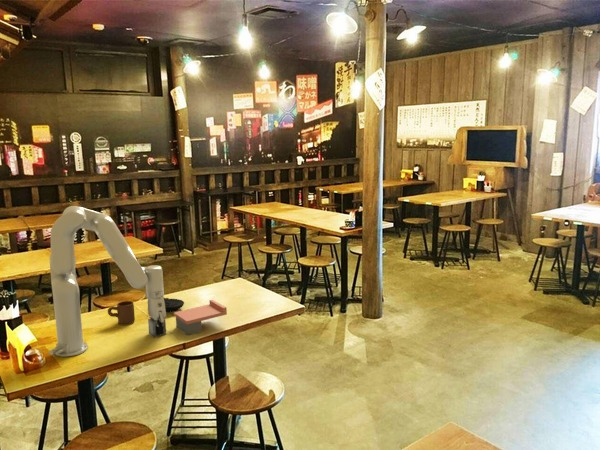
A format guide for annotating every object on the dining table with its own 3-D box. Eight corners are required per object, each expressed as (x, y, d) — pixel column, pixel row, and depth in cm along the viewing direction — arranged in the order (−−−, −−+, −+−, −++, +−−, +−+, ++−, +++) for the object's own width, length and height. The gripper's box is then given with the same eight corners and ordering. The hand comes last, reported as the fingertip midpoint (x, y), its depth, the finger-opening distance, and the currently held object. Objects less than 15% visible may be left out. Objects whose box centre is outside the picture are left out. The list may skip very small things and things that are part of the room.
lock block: (153, 337, 219) (152, 322, 218) (149, 333, 223) (148, 319, 222) (166, 333, 223) (165, 319, 222) (162, 330, 227) (161, 316, 226)
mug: (111, 328, 230) (109, 309, 228) (106, 323, 236) (105, 304, 234) (137, 322, 236) (135, 304, 235) (132, 318, 243) (130, 299, 241)
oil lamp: (171, 301, 266) (171, 292, 265) (190, 311, 252) (189, 301, 251) (145, 308, 257) (144, 299, 256) (163, 318, 242) (162, 308, 241)
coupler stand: (187, 336, 220) (186, 317, 218) (174, 326, 231) (173, 308, 229) (227, 325, 232) (226, 307, 230) (213, 317, 243) (212, 299, 241)
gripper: (170, 296, 215) (173, 336, 218) (156, 287, 228) (158, 324, 232) (154, 300, 211) (156, 340, 214) (139, 290, 224) (142, 328, 227)
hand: (157, 331), depth 223 cm, fingers closed on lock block, 5 cm apart
